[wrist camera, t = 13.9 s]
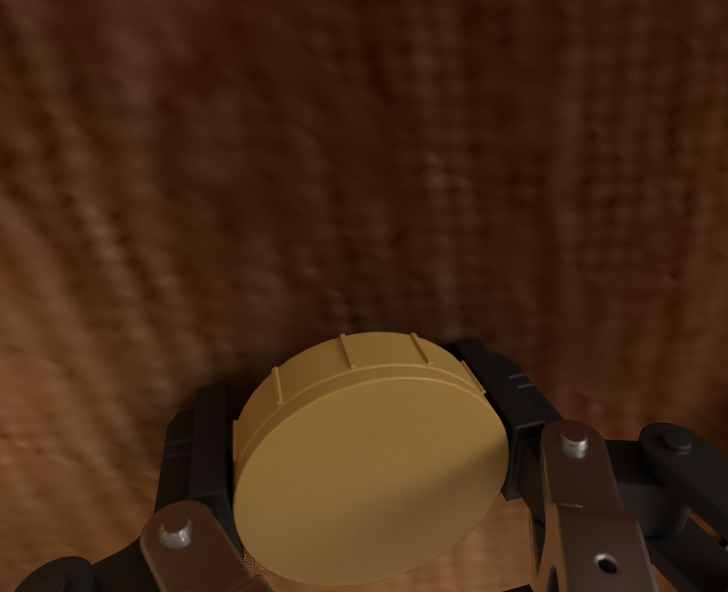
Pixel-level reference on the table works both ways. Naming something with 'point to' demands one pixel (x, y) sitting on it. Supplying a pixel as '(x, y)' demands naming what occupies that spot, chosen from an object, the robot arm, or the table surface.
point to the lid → (364, 460)
